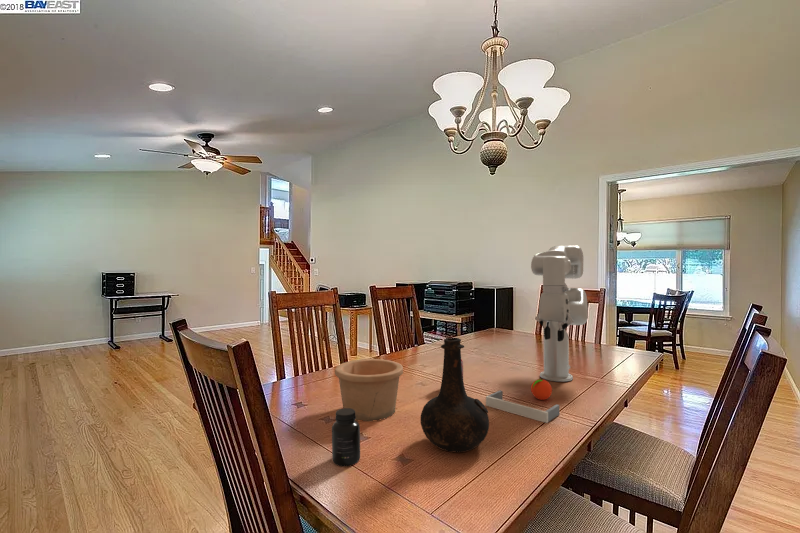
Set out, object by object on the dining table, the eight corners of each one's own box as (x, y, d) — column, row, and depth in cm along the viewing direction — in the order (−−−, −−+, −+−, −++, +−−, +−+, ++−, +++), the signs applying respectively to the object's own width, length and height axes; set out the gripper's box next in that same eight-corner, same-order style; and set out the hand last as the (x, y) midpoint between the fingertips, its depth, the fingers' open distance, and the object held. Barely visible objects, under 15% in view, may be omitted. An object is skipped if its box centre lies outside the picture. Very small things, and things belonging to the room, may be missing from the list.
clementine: (541, 404, 135) (541, 383, 134) (524, 398, 140) (524, 378, 140) (556, 400, 139) (556, 379, 139) (539, 394, 145) (539, 374, 145)
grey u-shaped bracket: (500, 398, 141) (499, 390, 141) (559, 414, 126) (559, 405, 126) (485, 405, 134) (485, 396, 134) (546, 423, 119) (546, 413, 119)
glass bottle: (490, 464, 96) (490, 347, 95) (416, 458, 99) (415, 344, 99) (487, 432, 113) (487, 333, 113) (424, 428, 117) (424, 331, 116)
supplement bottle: (333, 454, 101) (332, 406, 101) (360, 452, 102) (360, 405, 102) (330, 468, 95) (330, 417, 94) (360, 466, 95) (359, 416, 95)
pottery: (411, 403, 137) (411, 361, 137) (388, 429, 116) (388, 379, 116) (354, 396, 144) (353, 356, 144) (322, 419, 123) (322, 373, 123)
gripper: (581, 290, 144) (581, 341, 144) (536, 288, 155) (536, 335, 156) (573, 291, 138) (573, 344, 139) (527, 289, 150) (527, 338, 150)
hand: (553, 339), depth 147 cm, fingers open, 4 cm apart
